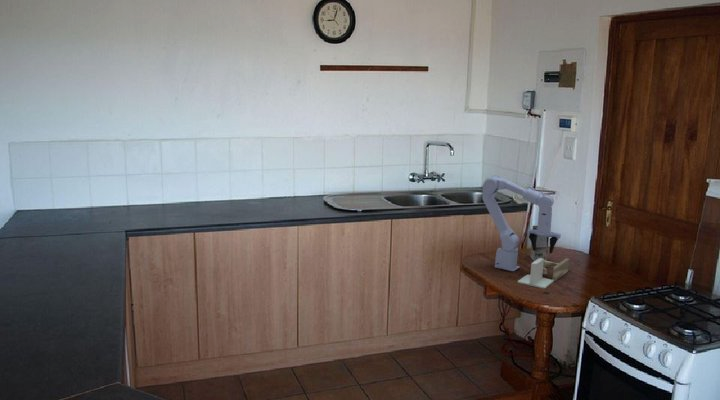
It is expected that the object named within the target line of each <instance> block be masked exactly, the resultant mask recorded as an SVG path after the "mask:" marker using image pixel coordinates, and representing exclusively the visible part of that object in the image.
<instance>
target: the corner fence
mask: <svg viewBox="0 0 720 400" xmlns="http://www.w3.org/2000/svg"><path fill="white" fill-rule="evenodd" d="M543 267H545V268H549V269H553V271H552V278H551V280H554V282H556V281H557V280H559V279H561V278H562V277H563V276H565V274H567V273H568V272H569V271H570V258H568V257H567V258H564V259H563V260H562V261H560V262H553V261H549V260H547V261H545V260H544V264H543Z"/></svg>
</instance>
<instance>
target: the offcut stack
mask: <svg viewBox="0 0 720 400" xmlns="http://www.w3.org/2000/svg"><path fill="white" fill-rule="evenodd" d="M542 275H548V270H547V267H544V266H543V274H542Z"/></svg>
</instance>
